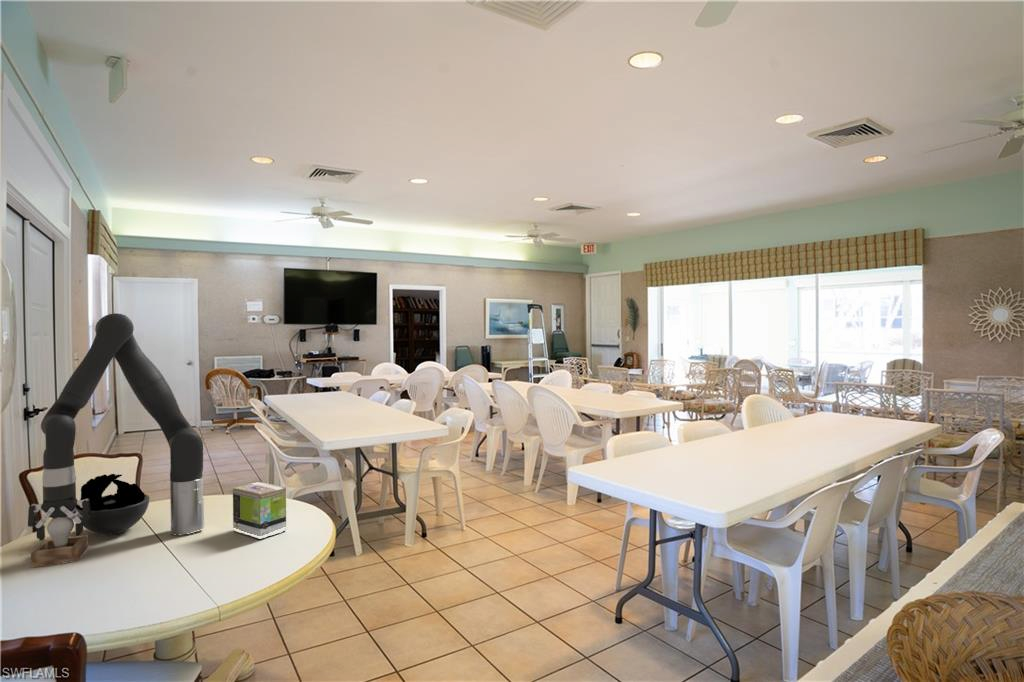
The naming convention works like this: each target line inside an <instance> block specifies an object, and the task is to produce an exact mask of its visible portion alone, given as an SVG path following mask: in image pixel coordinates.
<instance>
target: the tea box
mask: <svg viewBox="0 0 1024 682" xmlns="http://www.w3.org/2000/svg"><path fill="white" fill-rule="evenodd" d="M232 526H233V527H232V529H233V528H236V529H239V530H241V531H244V532H247V533H250V534H254V535H257V536H263V535H265V534H268V533H270V532H273V531H275V530H278V529H281V528H283V527H286V528H287V488H286V487H285V486H282V485H281V486H280V485H277V484H271V483H267V482H261V481H257V482H253V483H248V484H244V485H240V486H235V487H233V488H232Z"/></svg>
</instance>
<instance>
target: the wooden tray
mask: <svg viewBox="0 0 1024 682" xmlns="http://www.w3.org/2000/svg"><path fill="white" fill-rule="evenodd" d="M88 542H89V541H88V534H84V535H79V536H76V535H75V536H69V537H68V543H67V547H62V548H55V546H54V542H53V539H52V538H50V539H44V540H42V542H41V543H40V544H38V546H36V547H35V549H33V550H32V551H31V552H30V559H31V560H30V561H31V562H30V563H29V568H34V567H35V568H37V567H44V565H45V566H49V565H50V564H52V565H59V564H58V563H60V564H64V563H63V562H68V563H72V562H71V561H75V562H79V560H80V559H81V558H82V557H83V555H84V554H85V553H86V552H87V551H88V550H89V549H90V544H88ZM87 549H88V550H87ZM86 550H87V551H86ZM81 556H82V557H81ZM36 566H37V567H36Z"/></svg>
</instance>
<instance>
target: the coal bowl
mask: <svg viewBox="0 0 1024 682" xmlns="http://www.w3.org/2000/svg"><path fill="white" fill-rule="evenodd" d="M122 476H123V474H115V473H111V474H109V475H107V474H103V475H98V476H97V475H96V476H95V477H94V478H90V479H89V480H87V482H86V483H84V484H83V485H81V486H80V499H79V500H85V499H86V498H88V499H89V501H90V511H91V517H90V518H89V519H88V520H87V521H84V522H83V528H85V529H86V530H87V531H89V532H92V533H95V534H99V535H113V534H118V533H122V532H124V531H126V530H128V529H130V528H132V527H133V526H134V525H136V524H137V523H138V522H140V520H141V519H142V518H143V517H144V515H145V513H146V512H147V510H148V507H149V505H150V496H149V494H145V492H144V491H143V490H142V489H141V488H140V486H139V485H138V484H137V483H131V484H130V483H129V482H126V481H123V480H120V479H119V478H120V477H122ZM111 484H113V485H116V492H115V493H114V494H108V495H104V496H103V493H104V492H105V491H106V490H107V488H108V487H109V486H110V485H111ZM75 509H76V510H77V511H78V512H79V514H80V515H81V516H82V517H83V508H81V507H80V505H77V506H76V507H75Z"/></svg>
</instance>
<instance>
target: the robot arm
mask: <svg viewBox="0 0 1024 682" xmlns="http://www.w3.org/2000/svg"><path fill="white" fill-rule="evenodd" d="M94 329H95V336H94V339H93V342H92V344H91V346H90V347H89V350H88V351H87V353H86V355H85V356H84V357H83V359H82V361H80V363H79V365H78V366H77V367H76V369H75V370H74V371H73V372H72V373H71V376H70V377H69V379H68V381H67V382H66V383H65V386H64V387H63V388H62V391H61V393H60V395H59V396H58V398H57V399H56V400H55V402H54V403H53V404H52V406H51V407H50V408H49V409H48V411H47V412H46V413H45V415H44V417H43V419H42V420H41V424H40V429H41V431H42V433H43V434H44V436H45V449H44V450H43V456H42V460H43V461H42V465H43V466H42V467H43V470H42V477H41V478H42V481H41V482H42V503H41V504H40V503H39V504H37V503H32V504H31V505H29V506H28V511H27V512H28V515H27V526H28V527H30V528H32V527H33V528H35V529H36V539H37V540H39V541H44V540H46V539H45V538H46V529H45V528H46V526H45V523H46V522H47V521H48V520H49V519H50V518H51V519H53V518H57V517H66V516H69V517H70V518H71V519H72V520H73V522H74V526H75V527H74V528H75V529H74V531H75V536H81V534H82V533H83V532H84V527H83V522H84V521H87V520H88V519H89V518H90V517H91V511H90V501H89V499H88V498H86V499H85V500H80V499H79V500H78V499H77V489H76V487H77V485H76V483H77V482H76V481H77V476H76V468H75V453H74V447H75V442H76V433H77V432H76V431H77V429H76V428H77V427H76V423H75V422H76V421H75V419H76V417H77V415H78V413H79V412H80V411H81V410H82V409H84V408H85V407H86V405H88V403H89V401H90V400H91V398H92V396H93V394H94V392H95V391H96V389H97V386H98V385H99V383H100V381H101V380H102V377H103V375H104V374H105V372H106V370H107V368H108V366H109V365H110V363H111V361H112V360H113V359H115V361H116V362H117V364H118V365H119V367H120V370H121V372H122V374H123V376H124V378H125V380H126V381H127V384H128V385H129V387H130V388H131V391H132V392H133V393H134V396H136V398H137V401H139V403H140V404H141V405H142V406H143V408H144V409H145V410H146V411H147V413H148V414H149V415H150V416H151V417H152V418H153V419H154V421H156V423H157V424H158V426H159V427H160V429H161V431H162V433H163V434H164V437H165V439H166V442H167V445H168V447H169V449H170V450H169V452H170V454H169V455H170V462H169V463H170V470H169V471H170V472H169V489H170V490H169V494H170V497H169V498H170V499H169V500H170V534H171V533H172V534H176V535H175V536H180V535H179V534H187V533H191V532H194V531H197V530H200V529H202V528H203V529H204V527H203V525H204V526H205V509H204V508H205V504H204V503H205V502H204V501H205V499H204V497H203V496H204V492H203V490H204V488H203V471H204V441H203V439H202V437H201V435H200V434H199V433H198V432H197V431H196V430H195V429H194V427H193V426H192V425H191V424H190V423H189V421H188V420H187V418H186V417H185V416H184V414H183V412H182V411H181V409H180V406H179V404H178V402H177V400H176V397H175V394H174V393H173V390H172V388H171V387H170V385H169V384H168V382H167V380H166V379H165V377H164V375H163V374H162V372H161V371H160V370H159V368H158V367H157V366H156V365H155V364H154V363H153V362H152V361H151V359H149V358H148V357H147V356H146V354H145V353H144V352H143V350H142V349H141V347H140V346H139V344H138V342H137V340H136V338H135V336H134V330H135V329H134V323H133V321H132V320H131V318H130V317H129V316H127V315H125V314H122V313H115V312H114V313H113V312H112V313H109V314H106V315H104V316H102V317H101V318H100V319H99V320H98V321H97V322H96V324H95V327H94ZM77 505H80V507H81V508H83V517H82V516H81V515H80V514H79V512H78V511H77V510H76V509H75V507H76V506H77ZM40 509H41V510H42V511H43V512H44V515H43V516H42V517H41V518H40V520H37V515H38V512H39V511H40ZM172 534H171V535H172Z"/></svg>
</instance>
